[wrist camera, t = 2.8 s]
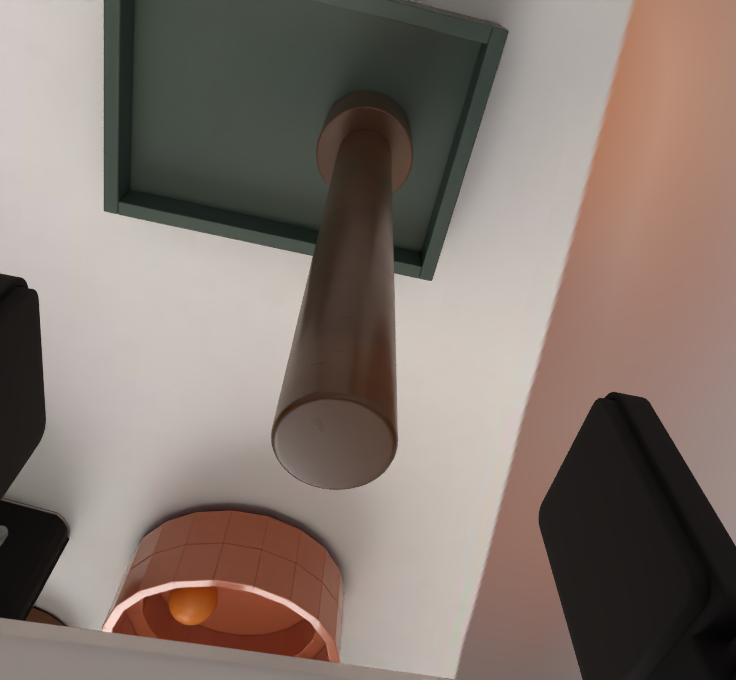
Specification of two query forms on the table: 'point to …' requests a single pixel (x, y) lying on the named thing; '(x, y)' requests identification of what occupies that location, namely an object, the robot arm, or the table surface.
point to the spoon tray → (285, 112)
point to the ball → (193, 604)
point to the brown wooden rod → (348, 306)
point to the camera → (27, 555)
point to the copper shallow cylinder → (235, 586)
